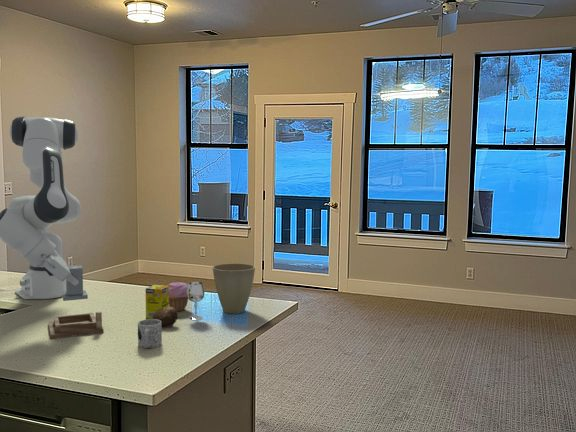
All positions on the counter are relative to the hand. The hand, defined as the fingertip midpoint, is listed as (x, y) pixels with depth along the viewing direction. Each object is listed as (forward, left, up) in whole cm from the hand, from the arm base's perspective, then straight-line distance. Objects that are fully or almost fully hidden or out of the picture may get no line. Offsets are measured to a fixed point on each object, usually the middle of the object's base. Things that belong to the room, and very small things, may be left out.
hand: (76, 281), depth 176 cm
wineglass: (+19, +32, -15) cm, 40 cm away
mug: (+31, +4, -15) cm, 35 cm away
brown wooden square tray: (0, -1, -15) cm, 15 cm away
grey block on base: (0, -1, -5) cm, 5 cm away
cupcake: (+6, +35, -15) cm, 39 cm away
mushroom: (+18, +20, -15) cm, 31 cm away
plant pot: (+22, +47, -15) cm, 54 cm away
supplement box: (+10, +23, -15) cm, 30 cm away
